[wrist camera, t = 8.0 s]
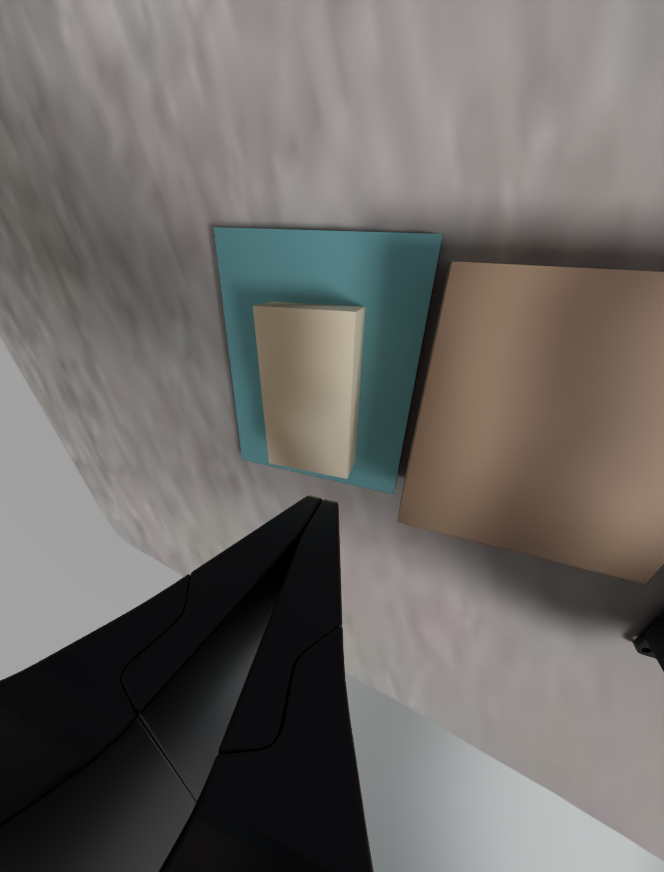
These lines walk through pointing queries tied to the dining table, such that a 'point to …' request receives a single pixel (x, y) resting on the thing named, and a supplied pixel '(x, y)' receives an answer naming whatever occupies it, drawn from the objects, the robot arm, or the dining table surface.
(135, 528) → the dining table surface
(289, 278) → the teal mat
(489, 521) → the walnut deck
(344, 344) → the birch tile
